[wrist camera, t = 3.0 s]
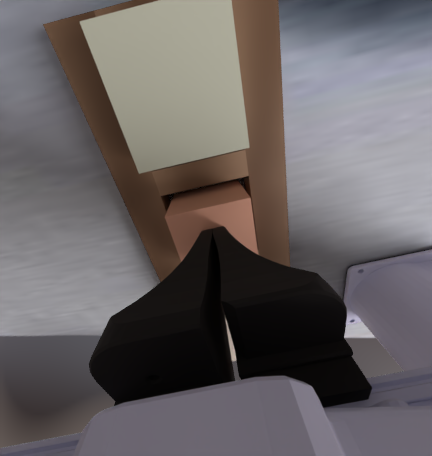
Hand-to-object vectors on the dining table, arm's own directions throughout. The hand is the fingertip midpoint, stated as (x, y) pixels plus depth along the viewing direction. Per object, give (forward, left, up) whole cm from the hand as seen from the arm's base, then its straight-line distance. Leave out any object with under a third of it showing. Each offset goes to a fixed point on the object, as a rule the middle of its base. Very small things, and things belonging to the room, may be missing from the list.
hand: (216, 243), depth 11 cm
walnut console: (0, 0, -4) cm, 4 cm away
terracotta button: (0, 0, -4) cm, 4 cm away
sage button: (0, -7, -3) cm, 8 cm away
